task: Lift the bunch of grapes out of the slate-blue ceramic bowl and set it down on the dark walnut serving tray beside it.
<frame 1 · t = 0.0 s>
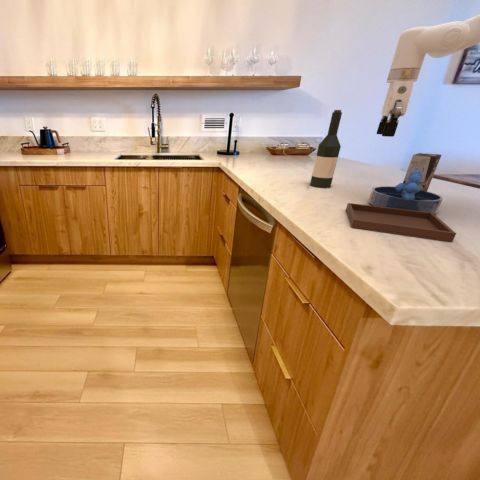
hand: (384, 135, 96), 22 cm above the counter, tool pointing down, fingers open, 9 cm apart
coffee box: (410, 200, 105), on the counter
bowl: (400, 207, 97), on the counter
grapes: (400, 206, 96), resting on bowl
tray: (391, 223, 83), on the counter
wine bottle: (319, 186, 124), on the counter
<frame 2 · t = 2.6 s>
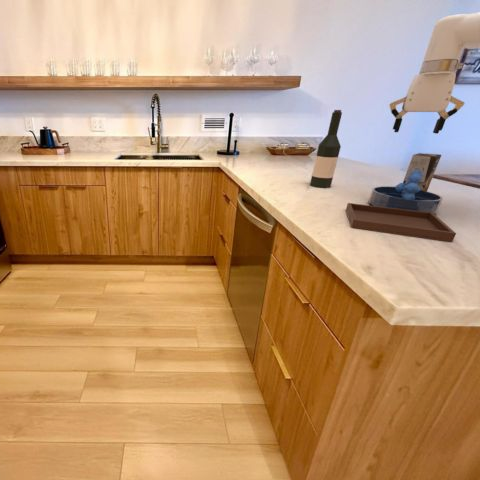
hand: (415, 132, 89), 24 cm above the counter, tool pointing down, fingers open, 9 cm apart
nothing on the counter moved.
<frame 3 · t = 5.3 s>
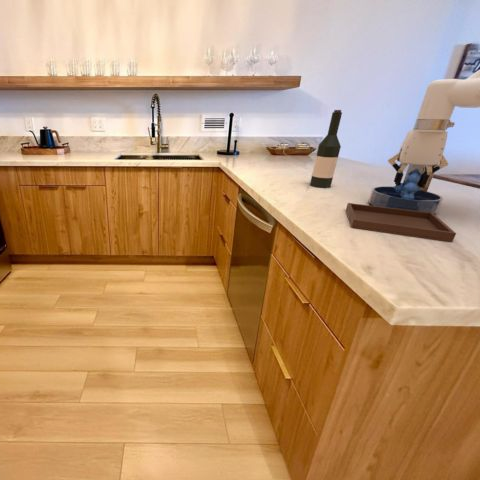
hand: (408, 185, 93), 8 cm above the counter, tool pointing down, fingers closed on grapes, 5 cm apart
grapes: (400, 206, 96), resting on bowl, touching gripper
everything else where it was.
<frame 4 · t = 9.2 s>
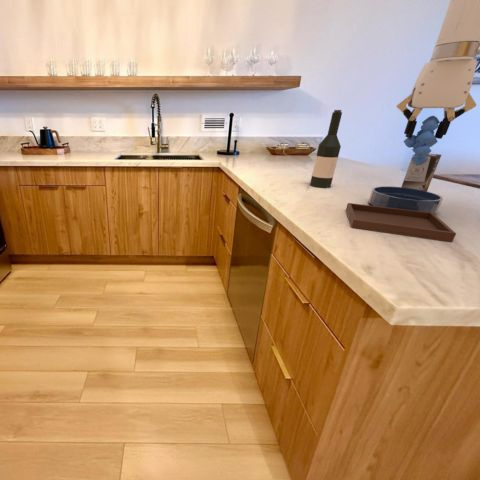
hand: (423, 136, 73), 24 cm above the counter, tool pointing down, fingers closed on grapes, 5 cm apart
grapes: (412, 165, 76), point 16 cm above the counter, touching gripper
everything else where it was.
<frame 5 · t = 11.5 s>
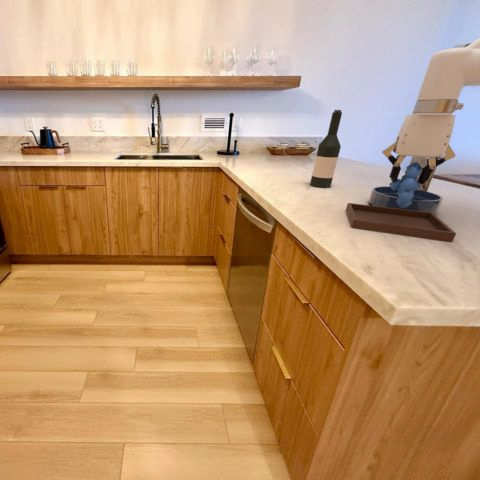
hand: (407, 181, 78), 12 cm above the counter, tool pointing down, fingers closed on grapes, 5 cm apart
grapes: (397, 206, 81), point 5 cm above the counter, touching gripper
everything else where it was.
when the fingers open (8 cm above the counter, at t = 13.2 s): grapes stays where it is, resting on tray.
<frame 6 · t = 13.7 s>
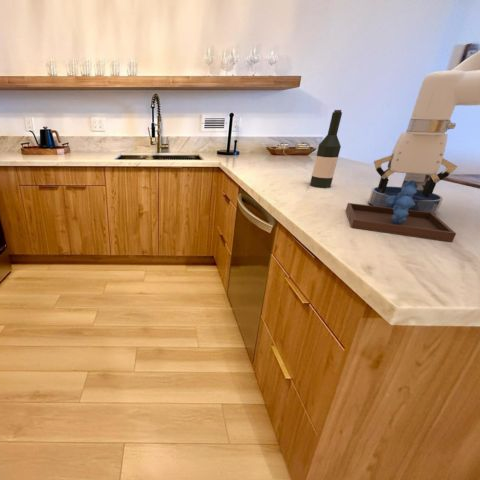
hand: (402, 193, 79), 9 cm above the counter, tool pointing down, fingers open, 9 cm apart
grapes: (392, 222, 83), resting on tray
everything else where it was.
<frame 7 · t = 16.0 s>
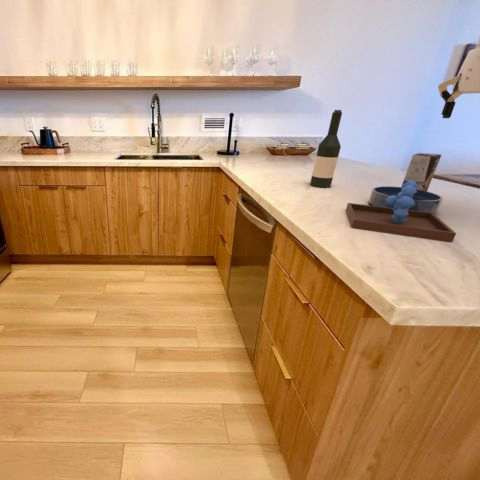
hand: (469, 117, 75), 28 cm above the counter, tool pointing down, fingers open, 9 cm apart
nothing on the counter moved.
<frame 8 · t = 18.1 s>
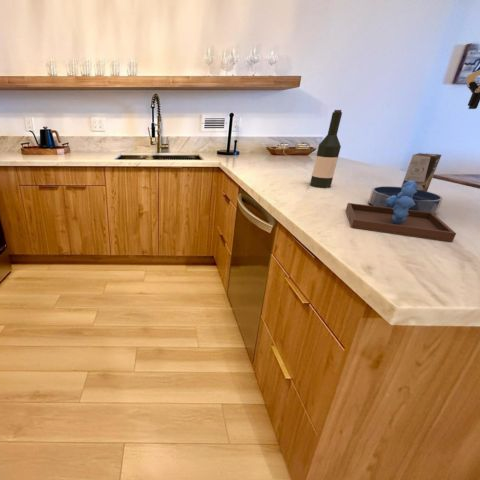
nothing on the counter moved.
at the end: grapes inside the target area in the tray (0.1 cm from its centre), point 0.4 cm above the tray's base; grapes moved 20.8 cm from its start; the gripper is holding nothing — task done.
